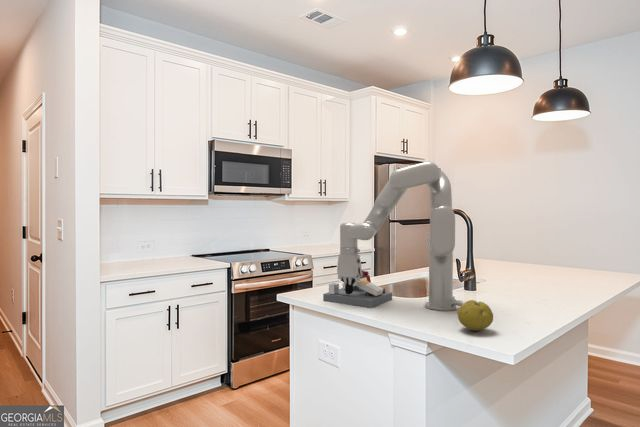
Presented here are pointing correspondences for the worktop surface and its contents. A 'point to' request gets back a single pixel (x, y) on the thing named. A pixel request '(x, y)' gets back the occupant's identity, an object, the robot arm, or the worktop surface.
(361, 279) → the rocker
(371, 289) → the rocker
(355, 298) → the panel
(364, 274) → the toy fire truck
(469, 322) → the fruit
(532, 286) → the worktop surface
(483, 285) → the worktop surface
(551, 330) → the worktop surface
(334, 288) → the slider
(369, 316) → the worktop surface
